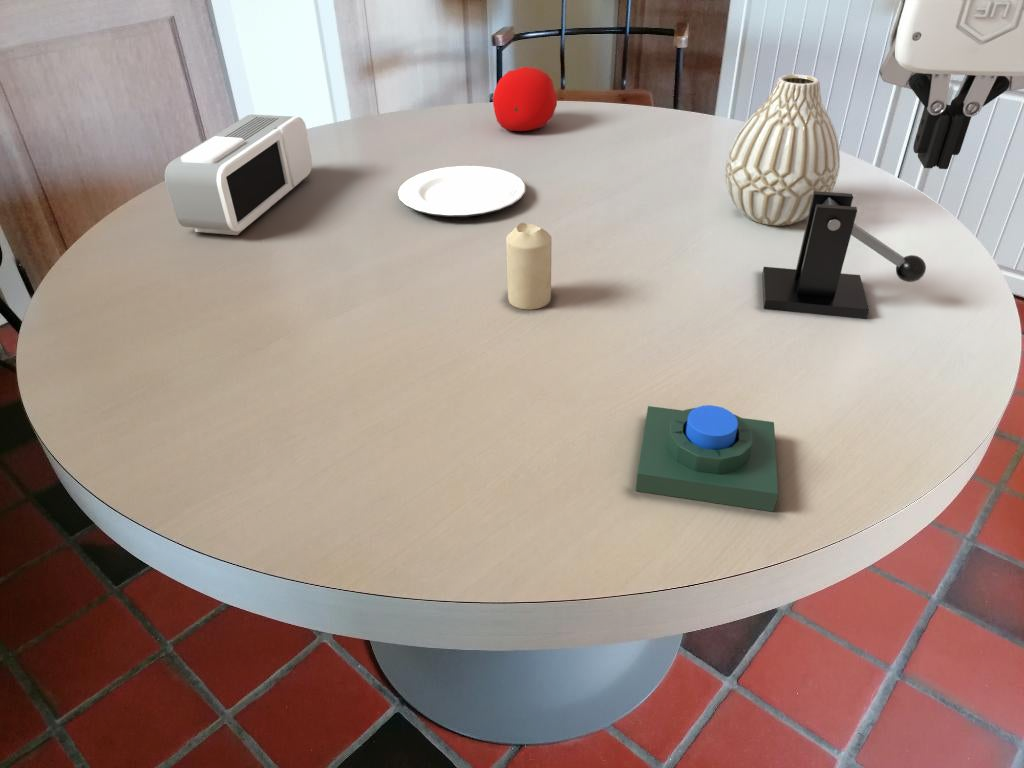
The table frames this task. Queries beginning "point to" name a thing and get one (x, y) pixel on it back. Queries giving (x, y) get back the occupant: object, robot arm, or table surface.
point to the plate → (461, 191)
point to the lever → (889, 253)
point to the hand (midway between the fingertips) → (932, 162)
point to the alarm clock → (238, 173)
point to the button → (711, 427)
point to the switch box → (708, 462)
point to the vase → (784, 154)
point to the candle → (529, 266)
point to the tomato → (524, 99)
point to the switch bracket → (820, 266)
